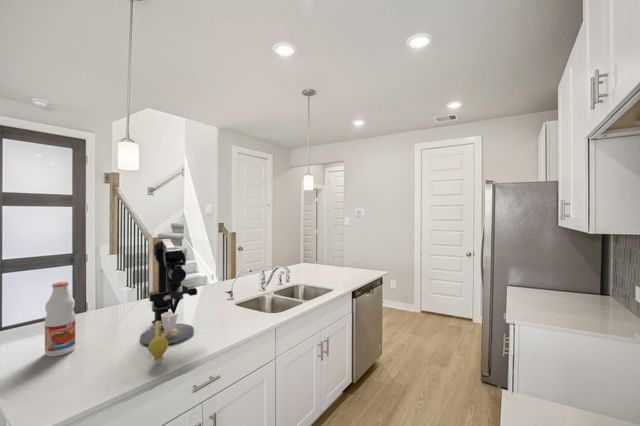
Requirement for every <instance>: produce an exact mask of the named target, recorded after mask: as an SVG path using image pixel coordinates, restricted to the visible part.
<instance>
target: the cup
mask: <svg viewBox="0 0 640 426" xmlns="http://www.w3.org/2000/svg"><path fill="white" fill-rule="evenodd" d="M161 319H162V324H161V326H162V325H163V328H164V330H165V331H164V332H165V333H171V332H173V331H174V330H175V329H174V328H175V325H176V324H177V320H178V312H177V311H175V313H172V311H168V312H166V313H163V314H162V315H161Z"/></svg>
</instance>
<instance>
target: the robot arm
mask: <svg viewBox="0 0 640 426" xmlns="http://www.w3.org/2000/svg"><path fill="white" fill-rule="evenodd" d="M152 253H153V254H152V255H153V256H154V258H155V260H156V262H157V290H156V291H150V292H149V293H148V300H149V302H151V311H152V312H153V313H154V320H151V323H154V324H155V322H156V321H161V325H162V319H161V315H162V314H163V313H166V312H169V310H170V312H172V313H175V312H177V308H178V306H179V303H180V301H181V300H183V299H184V295H186V294H187V295H189V297H191V296H197V295H198V289H197V288H196V287H195V286H188V284H184V285H182V282H183V281H184V280H185V279H186V278H187V273H186V270H184V268H182V267H183V266H186V263H187V259H186V255H185V252H184V251H183V249H181V248H180V247H176V246H175V244H174V243H173V241H172V239H171V238H166V239H165V238H164V239H163V238H162V239H160V240H159V241H158V242H157V243H156V244H154V246H153V250H152Z"/></svg>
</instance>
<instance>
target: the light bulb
mask: <svg viewBox="0 0 640 426" xmlns="http://www.w3.org/2000/svg"><path fill="white" fill-rule="evenodd" d="M147 346H148V348H147V349H148V352H149V354H150V355H151V356H152V357H153V363H154V365H155V366H159V365H162V363H163V360H164V355H165V353H166V351H167V350H168V348H169V344H168V341H167V339H166V338H164V337H161V336H159V337H156V338H154V339H152V340H151V342H150V343H149V345H147Z"/></svg>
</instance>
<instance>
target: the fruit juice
mask: <svg viewBox="0 0 640 426" xmlns="http://www.w3.org/2000/svg"><path fill="white" fill-rule="evenodd" d="M51 286H52V289H53V290H52V293H51V295H50V297H49V299H48V300H47V302H46V303H45V306H44V307H45V312H46V316H45V319H44V355H45V356H46V357H48V358H49V357H50V358H51V357H52V358H55V357H59V356H64V355H67V354H69V353H71V352H73V351H74V350H75V349H76V312H75V311H74V309H75V307H76V306H75V305H76V302H75V299H74V298H73V297H72V295H71V293H70V291H69V288H68V287H69V282H68V281H60V282H55V283H52V285H51Z"/></svg>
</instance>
